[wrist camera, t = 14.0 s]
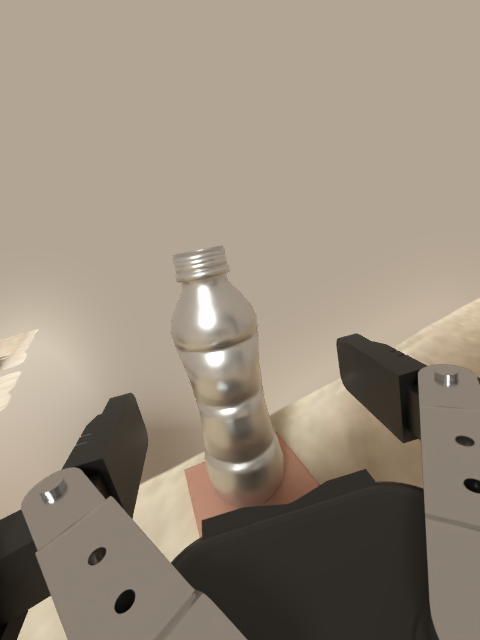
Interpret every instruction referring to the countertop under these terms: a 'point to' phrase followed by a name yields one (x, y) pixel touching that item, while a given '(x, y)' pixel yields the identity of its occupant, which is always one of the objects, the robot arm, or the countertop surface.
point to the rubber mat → (289, 490)
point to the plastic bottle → (226, 379)
